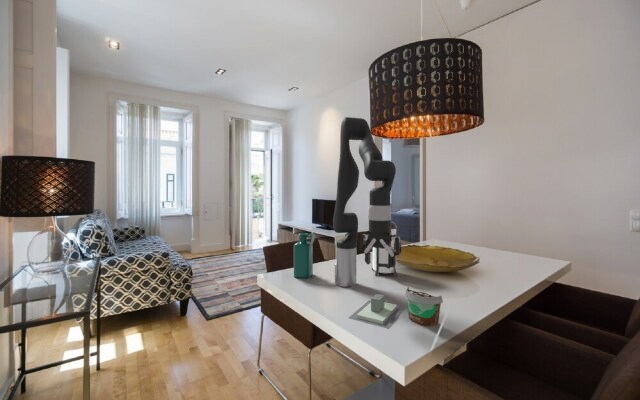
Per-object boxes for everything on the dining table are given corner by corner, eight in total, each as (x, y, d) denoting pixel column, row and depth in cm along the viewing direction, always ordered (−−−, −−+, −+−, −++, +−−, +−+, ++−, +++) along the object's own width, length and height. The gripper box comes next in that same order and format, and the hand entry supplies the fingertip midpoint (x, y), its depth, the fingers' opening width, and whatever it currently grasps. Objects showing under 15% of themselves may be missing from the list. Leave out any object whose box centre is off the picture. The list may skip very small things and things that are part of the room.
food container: (397, 320, 93) (398, 290, 93) (407, 314, 98) (407, 286, 97) (434, 333, 85) (434, 301, 84) (442, 326, 89) (443, 295, 89)
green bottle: (292, 277, 140) (292, 233, 140) (298, 272, 148) (298, 231, 148) (310, 279, 138) (310, 234, 137) (316, 274, 146) (316, 232, 145)
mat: (348, 319, 94) (348, 317, 94) (369, 301, 109) (369, 300, 109) (388, 330, 87) (388, 328, 87) (405, 309, 102) (405, 308, 102)
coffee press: (362, 273, 147) (362, 216, 146) (381, 267, 158) (381, 214, 157) (390, 281, 134) (390, 218, 133) (408, 274, 144) (409, 216, 143)
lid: (356, 318, 94) (356, 301, 94) (373, 302, 107) (373, 288, 106) (382, 324, 89) (382, 307, 89) (397, 308, 102) (397, 292, 102)
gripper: (403, 218, 96) (403, 265, 96) (364, 217, 103) (365, 260, 104) (397, 220, 89) (397, 270, 90) (356, 218, 97) (356, 265, 97)
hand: (379, 265), depth 97 cm, fingers open, 8 cm apart
